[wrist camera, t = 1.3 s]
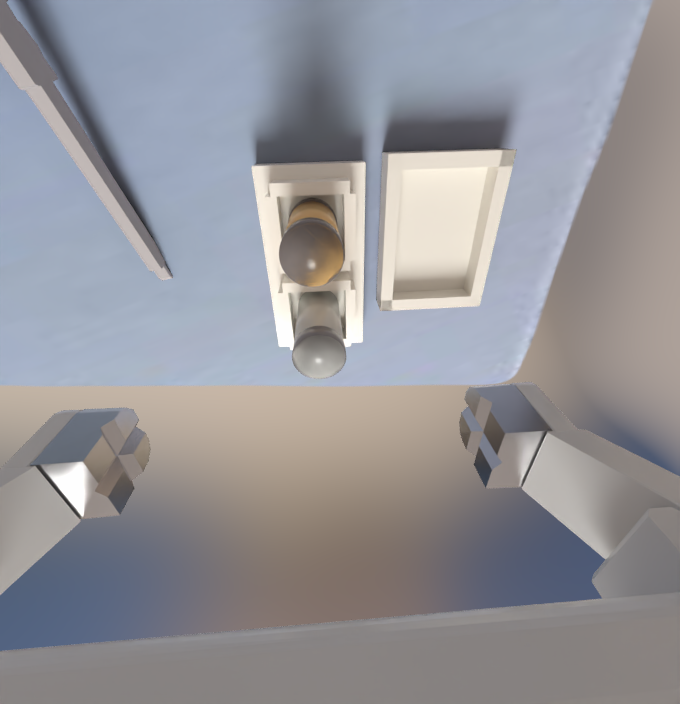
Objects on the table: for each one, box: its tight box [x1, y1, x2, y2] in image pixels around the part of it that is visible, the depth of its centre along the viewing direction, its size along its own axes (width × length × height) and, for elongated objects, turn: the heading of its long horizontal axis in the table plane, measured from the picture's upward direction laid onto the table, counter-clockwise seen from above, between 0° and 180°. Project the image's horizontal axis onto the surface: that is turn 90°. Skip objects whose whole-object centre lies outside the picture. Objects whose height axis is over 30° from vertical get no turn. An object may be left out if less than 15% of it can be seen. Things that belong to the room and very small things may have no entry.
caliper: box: [0, 0, 173, 280], centre depth 21 cm, size 20×1×6 cm, turn 12°
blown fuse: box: [279, 198, 344, 287], centre depth 22 cm, size 4×4×8 cm
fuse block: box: [252, 161, 366, 379], centre depth 24 cm, size 15×8×10 cm, turn 1°
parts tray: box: [376, 148, 516, 311], centre depth 27 cm, size 12×9×2 cm
